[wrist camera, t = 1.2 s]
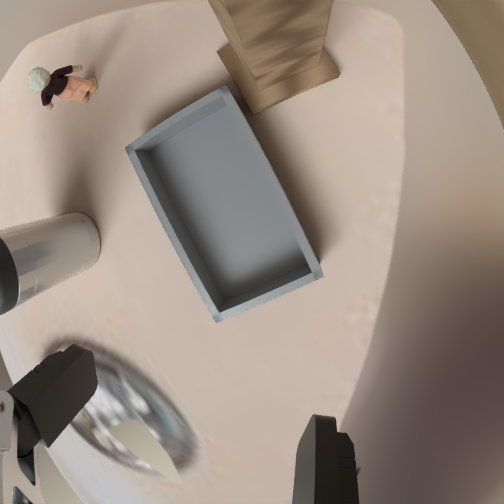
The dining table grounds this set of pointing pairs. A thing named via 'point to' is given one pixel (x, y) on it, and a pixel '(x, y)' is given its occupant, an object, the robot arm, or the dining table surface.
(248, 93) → the brown tall square column
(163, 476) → the dining table surface
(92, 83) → the grandmother figurine
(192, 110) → the tote
